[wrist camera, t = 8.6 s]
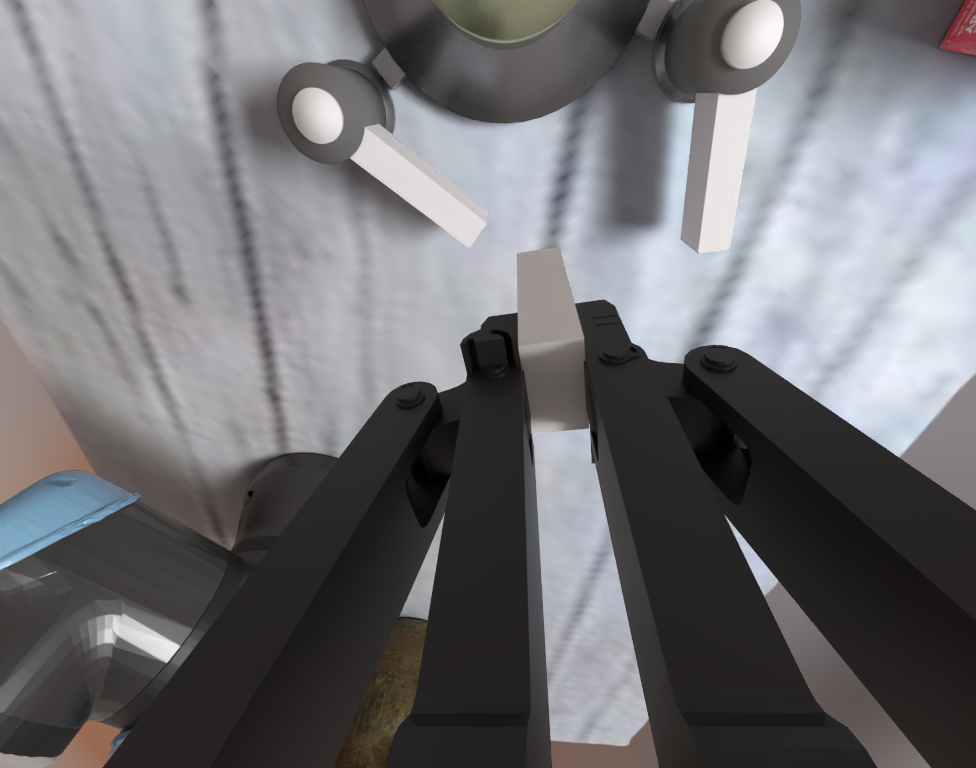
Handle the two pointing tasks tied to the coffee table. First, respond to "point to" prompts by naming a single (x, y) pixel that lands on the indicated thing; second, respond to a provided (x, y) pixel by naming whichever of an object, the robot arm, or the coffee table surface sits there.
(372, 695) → the clay pot
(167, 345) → the coffee table surface
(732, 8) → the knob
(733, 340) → the coffee table surface
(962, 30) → the ink box
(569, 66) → the base
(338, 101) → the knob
